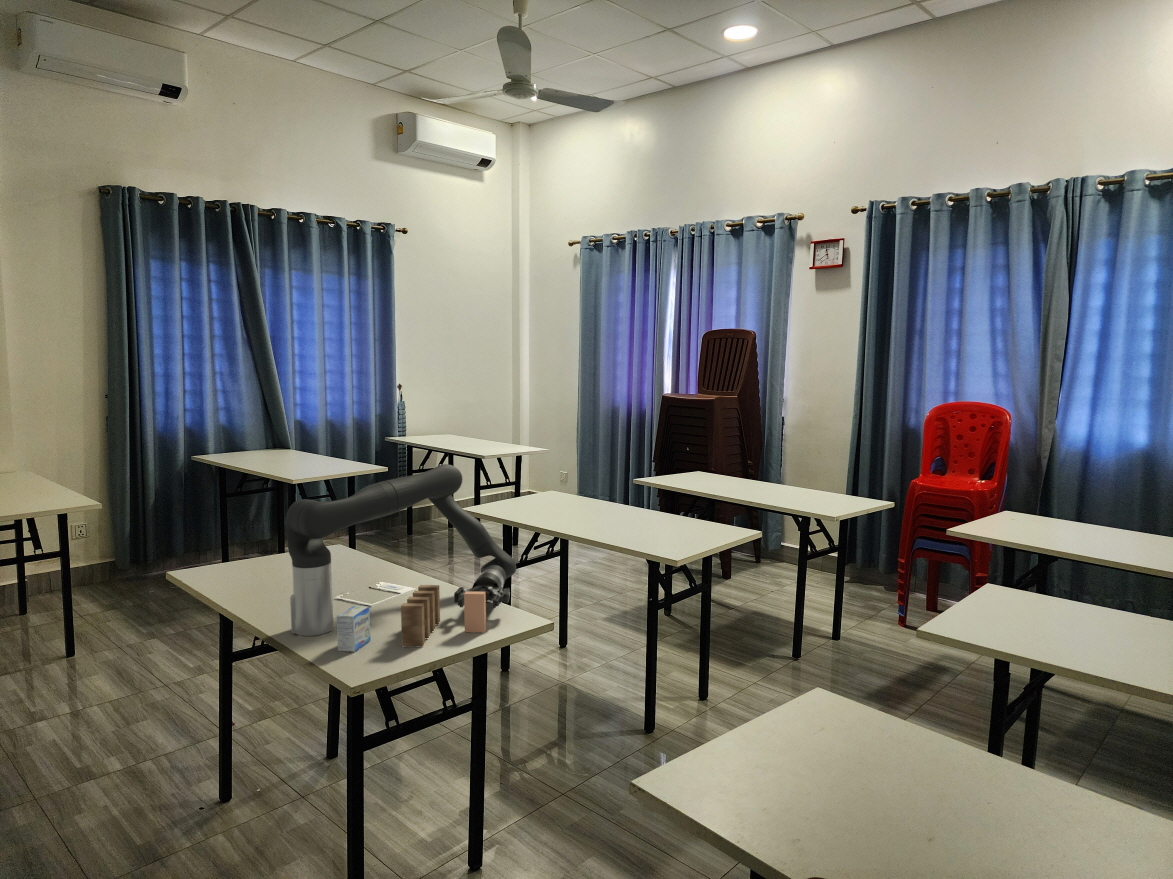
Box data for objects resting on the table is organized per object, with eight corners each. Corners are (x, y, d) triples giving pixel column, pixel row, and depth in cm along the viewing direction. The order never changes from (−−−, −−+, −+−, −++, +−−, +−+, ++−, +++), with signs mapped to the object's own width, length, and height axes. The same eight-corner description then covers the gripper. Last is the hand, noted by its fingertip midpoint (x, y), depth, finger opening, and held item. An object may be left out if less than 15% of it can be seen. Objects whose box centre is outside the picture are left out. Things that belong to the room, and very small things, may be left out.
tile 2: (419, 624, 193) (418, 587, 192) (421, 622, 195) (420, 584, 194) (438, 625, 193) (437, 587, 192) (440, 622, 194) (439, 585, 194)
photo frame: (416, 587, 223) (371, 604, 207) (416, 591, 223) (371, 608, 207) (380, 581, 230) (334, 596, 214) (380, 584, 230) (334, 600, 214)
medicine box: (354, 652, 174) (353, 616, 173) (337, 651, 175) (336, 615, 174) (371, 640, 182) (370, 606, 181) (354, 639, 183) (353, 605, 182)
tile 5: (402, 646, 178) (400, 605, 177) (404, 643, 180) (403, 603, 179) (422, 647, 178) (421, 606, 177) (424, 643, 180) (423, 603, 179)
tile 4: (408, 639, 183) (407, 599, 182) (410, 636, 185) (409, 596, 184) (428, 639, 183) (427, 599, 182) (430, 636, 185) (429, 597, 184)
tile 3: (413, 631, 188) (412, 593, 187) (415, 629, 190) (414, 590, 189) (433, 632, 188) (432, 593, 187) (435, 629, 190) (434, 590, 189)
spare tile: (464, 632, 187) (464, 593, 186) (466, 629, 189) (465, 591, 188) (484, 632, 187) (484, 594, 186) (486, 630, 189) (485, 591, 188)
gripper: (463, 572, 207) (449, 589, 191) (514, 572, 206) (504, 590, 190) (463, 598, 208) (450, 617, 191) (514, 599, 207) (505, 618, 191)
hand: (477, 604), depth 191 cm, fingers open, 8 cm apart
